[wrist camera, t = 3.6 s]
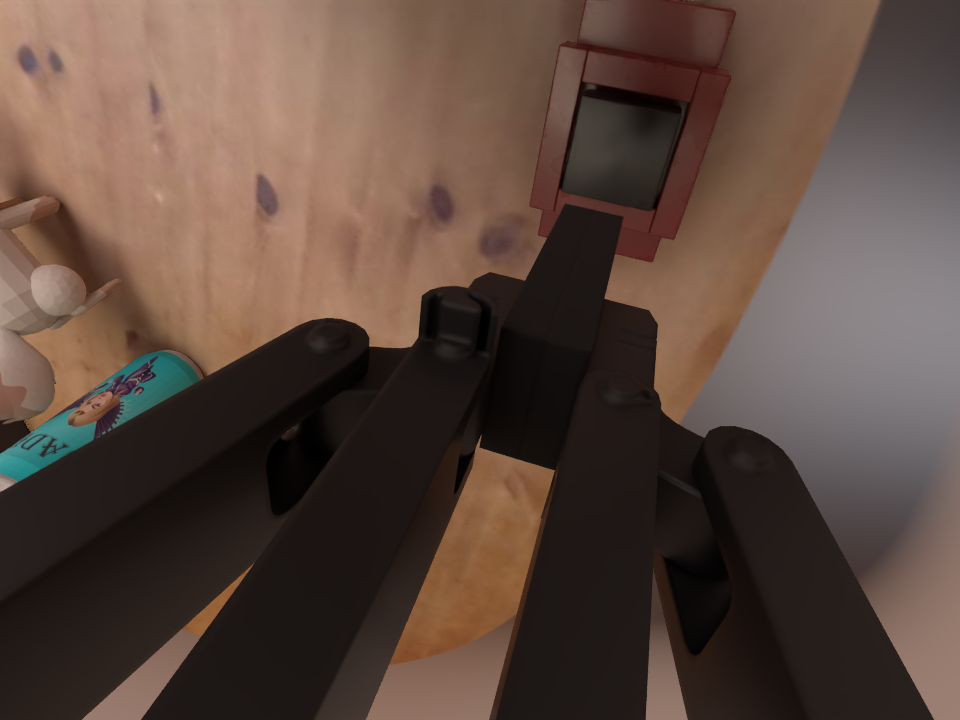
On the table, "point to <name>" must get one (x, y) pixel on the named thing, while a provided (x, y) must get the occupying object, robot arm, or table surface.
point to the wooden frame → (645, 75)
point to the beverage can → (100, 412)
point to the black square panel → (620, 149)
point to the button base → (11, 433)
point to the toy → (32, 311)
